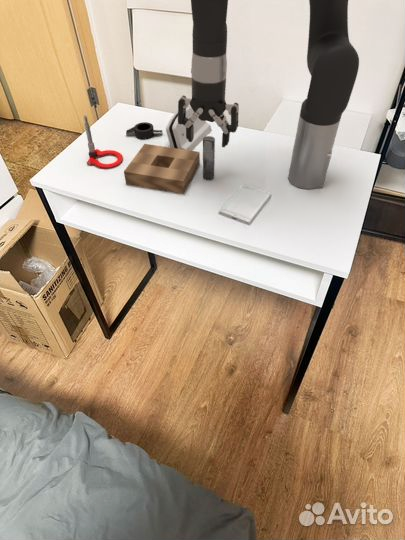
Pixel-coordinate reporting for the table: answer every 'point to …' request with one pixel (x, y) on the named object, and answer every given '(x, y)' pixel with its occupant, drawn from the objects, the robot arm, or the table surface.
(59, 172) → the table surface
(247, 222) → the hard drive
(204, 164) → the pin
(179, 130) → the grey rounded slab
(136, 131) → the black rounded piece
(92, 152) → the tow hook
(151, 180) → the wooden square frame
